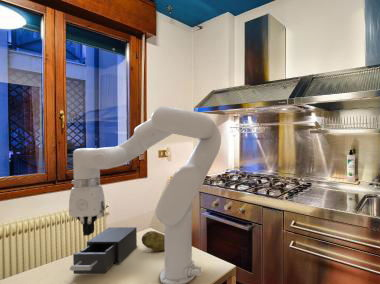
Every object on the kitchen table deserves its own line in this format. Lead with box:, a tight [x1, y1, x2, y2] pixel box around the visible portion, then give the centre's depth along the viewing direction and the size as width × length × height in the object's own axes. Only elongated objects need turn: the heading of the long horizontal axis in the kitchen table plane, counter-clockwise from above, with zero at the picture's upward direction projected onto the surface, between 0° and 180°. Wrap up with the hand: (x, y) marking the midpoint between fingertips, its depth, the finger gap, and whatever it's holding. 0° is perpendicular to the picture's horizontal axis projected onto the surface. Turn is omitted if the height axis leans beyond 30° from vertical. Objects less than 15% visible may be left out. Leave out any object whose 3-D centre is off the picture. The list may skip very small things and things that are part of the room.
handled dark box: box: [69, 244, 117, 275], centre depth 87 cm, size 18×11×7 cm, turn 1°
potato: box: [141, 230, 165, 252], centre depth 102 cm, size 8×13×8 cm, turn 81°
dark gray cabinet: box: [86, 226, 138, 265], centre depth 97 cm, size 15×13×9 cm
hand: (88, 233), depth 81 cm, fingers closed
